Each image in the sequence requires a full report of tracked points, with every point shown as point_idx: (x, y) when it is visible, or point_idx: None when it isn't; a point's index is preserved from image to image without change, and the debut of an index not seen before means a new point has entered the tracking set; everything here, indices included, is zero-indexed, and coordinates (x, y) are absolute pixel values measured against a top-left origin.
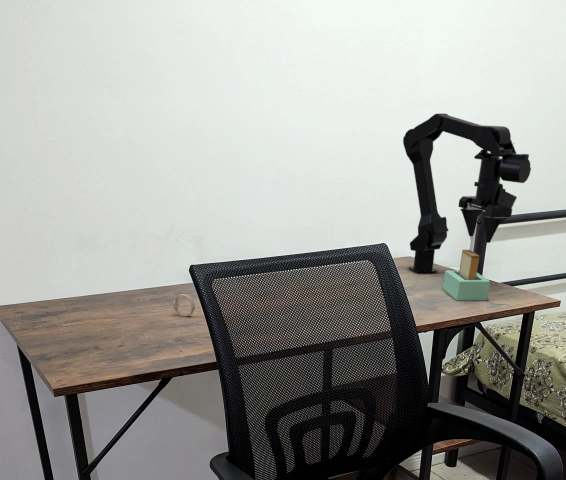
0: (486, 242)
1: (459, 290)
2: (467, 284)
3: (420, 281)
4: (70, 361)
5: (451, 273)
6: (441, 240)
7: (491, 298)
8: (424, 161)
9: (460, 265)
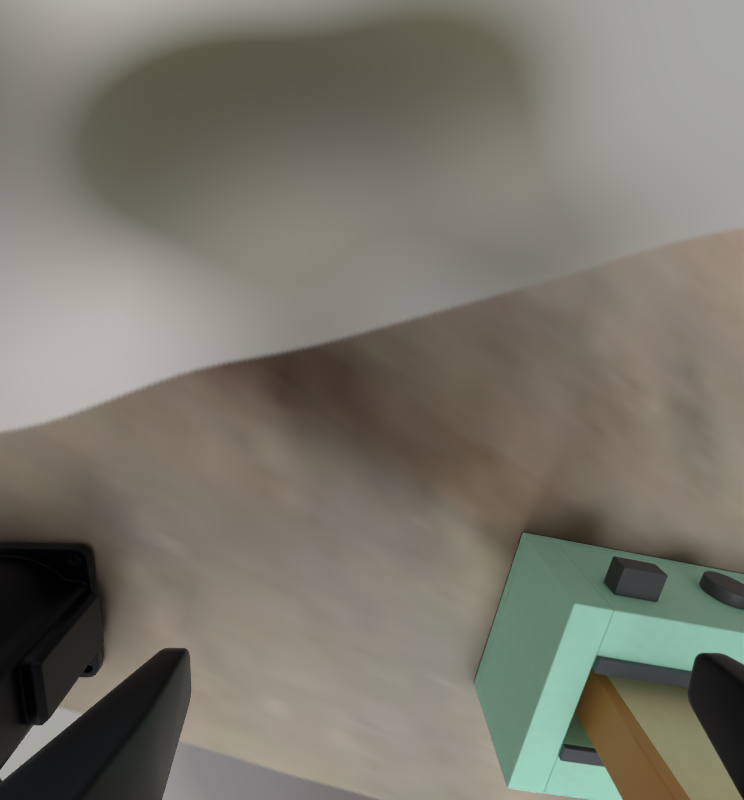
0: (703, 700)
1: None
2: None
3: (289, 722)
4: None
5: (592, 787)
6: None
7: (733, 529)
8: None
9: (620, 785)
